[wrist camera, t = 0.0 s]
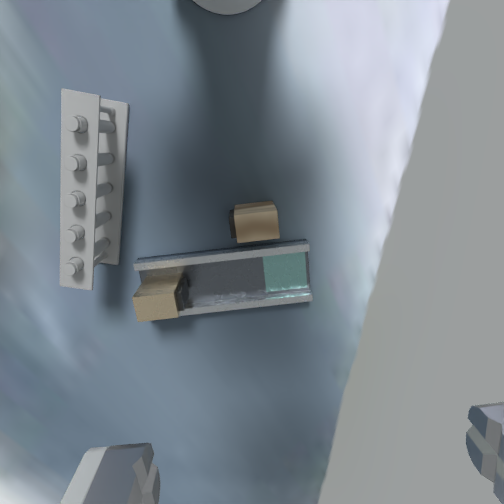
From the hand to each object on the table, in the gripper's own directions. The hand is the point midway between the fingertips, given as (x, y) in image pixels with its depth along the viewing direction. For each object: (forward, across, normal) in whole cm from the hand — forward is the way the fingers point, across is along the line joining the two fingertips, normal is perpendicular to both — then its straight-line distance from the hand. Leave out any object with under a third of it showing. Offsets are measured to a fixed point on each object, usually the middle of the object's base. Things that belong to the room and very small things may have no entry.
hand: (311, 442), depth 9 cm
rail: (+48, +6, +14) cm, 50 cm away
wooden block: (+48, 0, +4) cm, 48 cm away
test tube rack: (+48, +22, -3) cm, 53 cm away
